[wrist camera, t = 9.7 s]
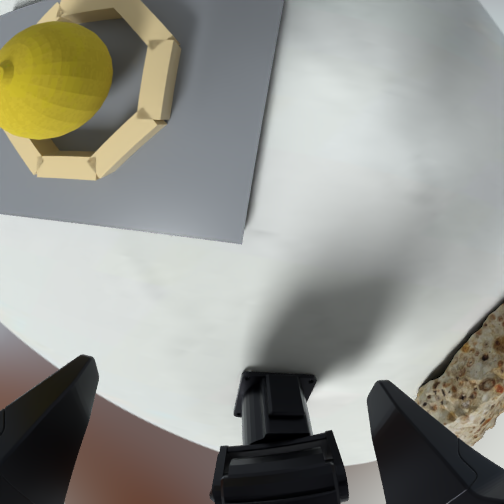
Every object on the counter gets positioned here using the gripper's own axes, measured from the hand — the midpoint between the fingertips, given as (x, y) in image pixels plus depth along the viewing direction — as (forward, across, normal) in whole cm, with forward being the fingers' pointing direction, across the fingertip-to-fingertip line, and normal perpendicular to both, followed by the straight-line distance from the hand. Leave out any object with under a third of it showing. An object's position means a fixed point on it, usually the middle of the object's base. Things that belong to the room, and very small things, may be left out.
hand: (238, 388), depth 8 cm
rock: (+13, -30, +12) cm, 34 cm away
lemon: (+10, +10, -9) cm, 17 cm away
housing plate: (+11, +10, -8) cm, 17 cm away
